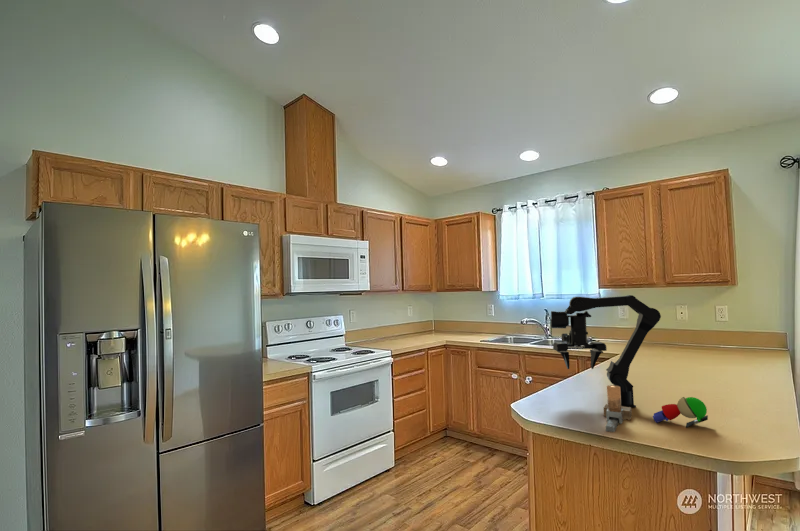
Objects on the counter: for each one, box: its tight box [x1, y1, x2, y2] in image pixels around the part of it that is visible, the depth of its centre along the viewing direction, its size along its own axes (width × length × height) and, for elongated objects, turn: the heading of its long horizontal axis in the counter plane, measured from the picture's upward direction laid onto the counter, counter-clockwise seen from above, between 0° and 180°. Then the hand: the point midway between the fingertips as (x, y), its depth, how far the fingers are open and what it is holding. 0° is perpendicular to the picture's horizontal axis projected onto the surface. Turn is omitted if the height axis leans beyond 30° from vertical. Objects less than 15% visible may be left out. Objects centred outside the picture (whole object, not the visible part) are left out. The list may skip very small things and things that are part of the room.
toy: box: [652, 396, 709, 428], centre depth 135 cm, size 8×8×15 cm
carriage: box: [605, 384, 624, 424], centre depth 140 cm, size 5×4×11 cm
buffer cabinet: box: [603, 403, 633, 421], centre depth 145 cm, size 5×8×3 cm, turn 56°
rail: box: [605, 417, 620, 433], centre depth 136 cm, size 15×2×2 cm, turn 146°
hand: (580, 368), depth 163 cm, fingers open, 9 cm apart
